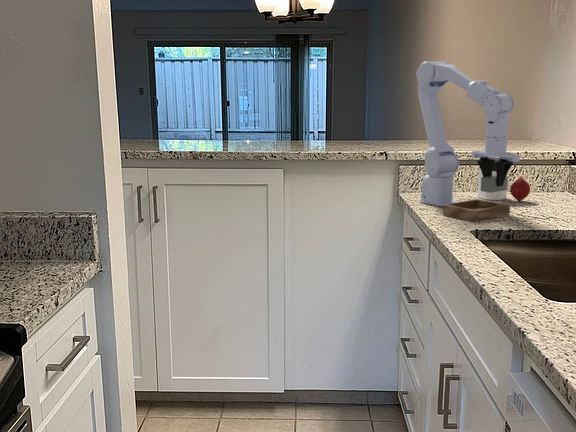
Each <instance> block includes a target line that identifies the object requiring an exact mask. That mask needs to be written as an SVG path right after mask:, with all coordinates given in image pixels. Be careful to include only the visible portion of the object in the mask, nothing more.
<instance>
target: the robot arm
mask: <svg viewBox="0 0 576 432" xmlns="http://www.w3.org/2000/svg"><path fill="white" fill-rule="evenodd" d="M415 75H416V81H417V97H418V100H419V105H420V110H421V115H422V119H423V123H424V128H425V129H424V130H425V133H426V136H427V137H426V138H427V142H428V148H427V150H426V151H425V153H424V159H425V160H424V170H425V172H426V175H425V176H424V177H423V179H422V181H421V195H420V197H421V199H420V200H419V203H421V204H422V203H423V204H427V205H433V206H437V207H444V205H446V204H451V203H457V202H458V201H453V194H454V193H453V192H454V191H453V190H454V176H455V175H456V172H457V171H458V169H459V167H460V160H459V157H458V156H457V154H456V152H455V149H454V148H453V147H452V146H451V145H450V144H449V143H448V142H447V141H448V140H447V136H446V132H445V128H444V127H445V126H444V123H443V118H442V115H441V114H442V113H441V109H440V105H439V101H438V100H439V99H438V96H437V95H438V94H439V91H441V90H442V88H443V87H445V85H446V84H447V83H448V82H450V83H452V84H454V85H456V86H457V87H459V88H460V89H462V90H464V91H466V97H467V98H468V99H470V100H471V101H473V102H475V104H477V105H479V106H480V107H482V109H483V112H484V113H485V121H486V127H485V143H484V150H472V153H471V154H472V155H471V156H472V157H471V158H473V159H477V158H478V159H477V161H476V163H477V165H478V166H479V170H480V169H481V171H482V175H483V177H487V176H492V170H493V166H494V162H495V160H496V162H495V167H496V174H497V176H496V184H497V186H503V184H504V181H505V178H506V175H507V173H509V171H510V169H511V168H512V166H513V165H514V163H518V162H519V163H520V160H521V154H517V153H516V154H515V153H510V152H507V148H508V147H507V146H508V143H507V142H508V129H509V128H508V127H509V114H510V112H512V111H513V108H514V98H513V97H512V96H511V95H510V94H509V93H508V92H503V93H501V92H500V90H499V89H498V88H493V87H492V86H490V85H489V84H488V81H486V80H485V79H477V80H473V79H472V78H471V77H469V76H467V75H466V74H465V73H464V72H462V71H461V70H460V69H458V68H457V67H456V65H454V63H453V64H452V63H450V62H449V61H446V60H445V61H428V60H426V61H425V60H424V61H422V62H421V63H420V65H419V66H418V68H417V70H416V73H415Z"/></svg>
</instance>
